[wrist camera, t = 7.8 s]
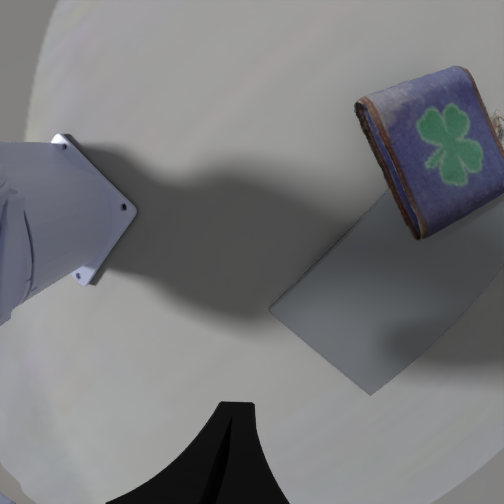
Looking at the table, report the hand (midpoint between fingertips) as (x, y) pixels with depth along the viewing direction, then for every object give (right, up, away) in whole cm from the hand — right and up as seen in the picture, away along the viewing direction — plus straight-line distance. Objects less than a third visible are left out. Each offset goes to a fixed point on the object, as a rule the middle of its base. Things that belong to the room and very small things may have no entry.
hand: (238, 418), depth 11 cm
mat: (+13, +6, +8) cm, 16 cm away
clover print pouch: (+8, +11, +5) cm, 15 cm away
